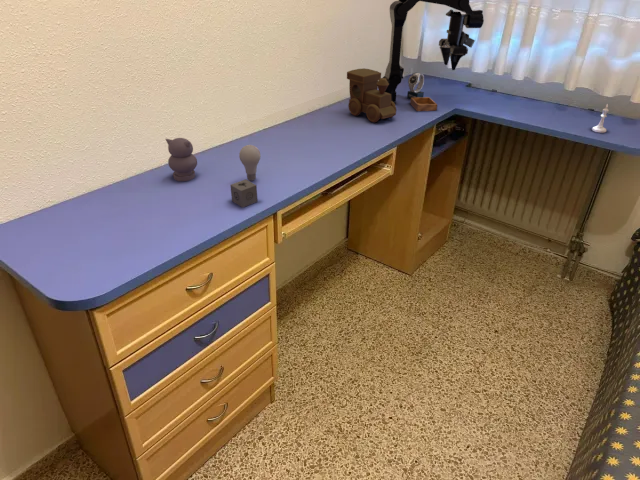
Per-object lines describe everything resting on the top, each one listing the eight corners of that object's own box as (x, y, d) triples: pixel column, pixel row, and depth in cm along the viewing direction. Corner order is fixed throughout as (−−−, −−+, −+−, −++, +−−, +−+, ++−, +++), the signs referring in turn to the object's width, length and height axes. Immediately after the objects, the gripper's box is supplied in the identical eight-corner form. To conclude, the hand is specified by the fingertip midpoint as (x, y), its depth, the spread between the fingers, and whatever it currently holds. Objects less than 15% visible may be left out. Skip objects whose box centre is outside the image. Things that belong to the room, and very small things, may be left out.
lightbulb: (244, 186, 140) (241, 150, 135) (239, 178, 145) (235, 143, 139) (264, 183, 143) (262, 147, 137) (258, 175, 147) (256, 140, 141)
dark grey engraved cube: (246, 195, 136) (245, 179, 133) (257, 201, 133) (256, 185, 130) (232, 201, 133) (230, 184, 130) (242, 207, 130) (241, 190, 127)
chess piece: (592, 131, 182) (600, 105, 177) (591, 127, 186) (599, 101, 181) (606, 133, 181) (616, 106, 175) (605, 129, 185) (614, 103, 179)
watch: (404, 99, 216) (406, 73, 210) (415, 95, 220) (418, 70, 214) (414, 102, 212) (417, 76, 206) (425, 98, 217) (428, 73, 211)
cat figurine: (203, 172, 148) (198, 135, 142) (192, 183, 142) (186, 144, 135) (178, 169, 150) (172, 132, 143) (165, 180, 143) (158, 142, 137)
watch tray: (417, 111, 201) (417, 104, 200) (409, 103, 210) (410, 97, 209) (436, 110, 202) (437, 104, 201) (428, 103, 211) (429, 97, 210)
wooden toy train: (343, 113, 198) (344, 71, 190) (363, 107, 205) (365, 67, 196) (378, 125, 186) (381, 81, 177) (398, 119, 192) (402, 76, 183)
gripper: (483, 32, 192) (476, 72, 200) (466, 24, 207) (459, 62, 216) (456, 32, 190) (450, 72, 199) (441, 24, 206) (435, 62, 214)
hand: (449, 67), depth 207 cm, fingers open, 9 cm apart
